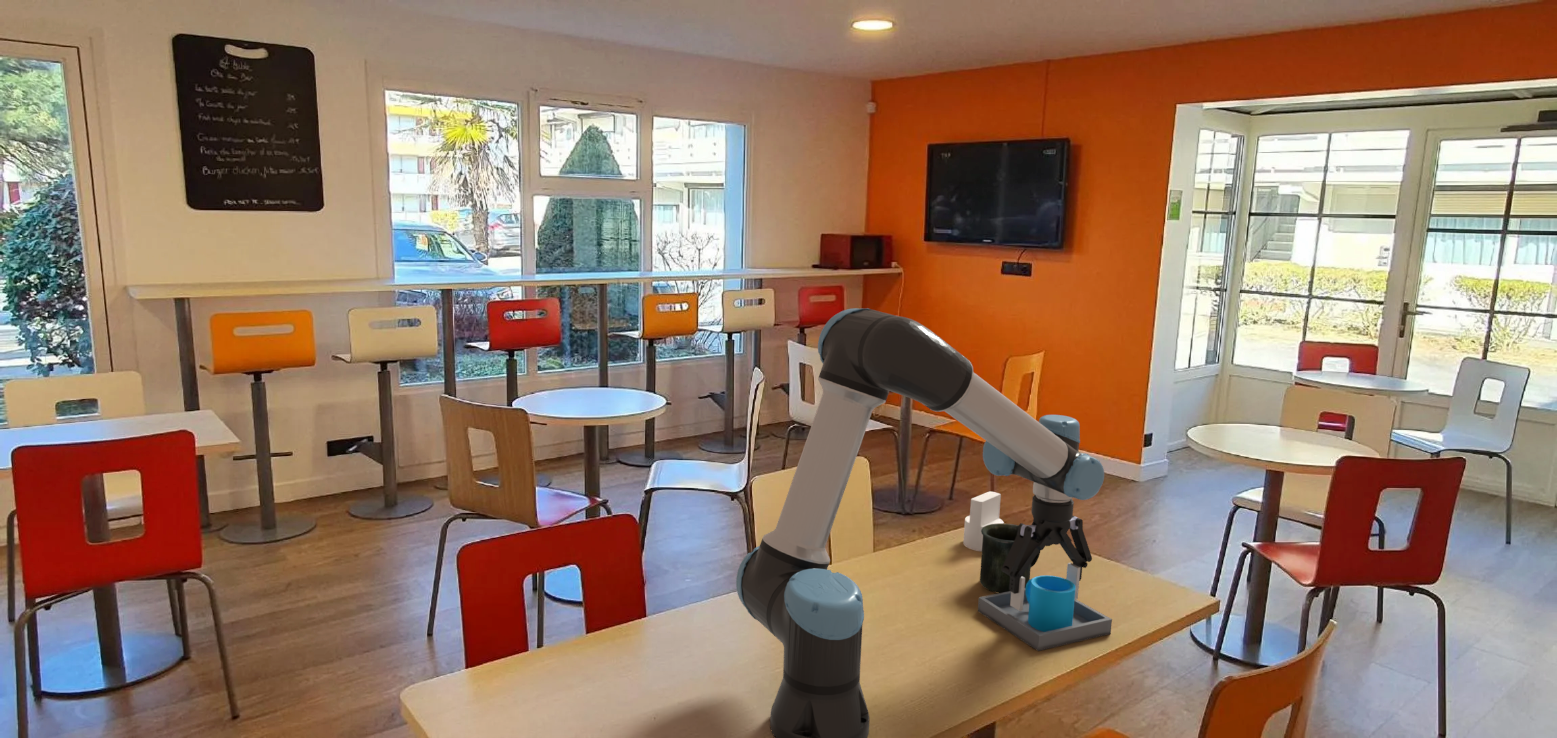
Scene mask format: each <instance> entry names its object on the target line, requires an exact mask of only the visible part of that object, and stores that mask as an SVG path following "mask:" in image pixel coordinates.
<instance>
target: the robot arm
mask: <svg viewBox="0 0 1557 738" xmlns="http://www.w3.org/2000/svg"><path fill="white" fill-rule="evenodd" d="M817 353H818V354H819V359H820V362H821V363H822V366H821V368H820V369H821V370H820V372H819V376H818V378H817V379H818V382H819V384H820V386H821V389H822V395H821V398H820V401H819V404H818V406H817V409H816V413H815V415H814V417H813V421H812V423H811V426H810V428H809V432H808V435H807V438H806V441H805V443H804V445H803V448H802V452H801V455H800V457H799V460H798V463H797V467H796V468H795V472H794V474H793V477H792V480H791V484H790V487H789V489H788V492H787V495H786V498H785V501H784V504H783V506H782V509H781V512H780V516H779V518H778V520H777V523H776V527H775V529H773V530H772V531H770V532H767V533H766V534H764V535H762V538H761V541H760V544H759V545H758V546H756V547H755V548H753V550H752V551H751V552H748V553H747V554H746V555H745V557H744V558H743V559H742V560H741V562H740V564H739V566H738V569H737V572H736V573H737V574H736V577H735V579H736V581H735V585H736V586H735V587H736V593H737V596H738V598H739V600H740V602H741V604H742V605H743V607H744V608H745V609H746V610H747V613H748V614H749V615H750V616H751V617H752V618H753V619H755V620H756V621H757V622H759V623H760V624H761V625H762V626H763V627H764V628H765V629H766V630H767V631H768V632H769V633H771V634H772V636H774V637H775V638H776V639H777V640H778V641H779V642H780V643H781V644H782V645H783V665H782V666H783V673H782V679H781V683H780V685H779V688H778V689H777V690H778V691H777V693H776V696H775V699H774V701H773V703H772V706H771V709H770V720H769V721H770V724H769V725H770V726H771V728H770V731H771V730H772V731H771V734H772V735H773V734H774V735H773V737H774V736H776V738H868V737H869V735H870V733H869V732H870V714H869V713H870V712H869V710H868V709H869V708H868V705H867V701H866V699H865V696H864V693H863V689H862V686H861V681H860V680H861V663H862V661H861V659H862V642H863V641H862V640H863V639H862V638H863V623H864V619H865V611H864V599H863V593H862V591H861V590H860V587H859V586H858V584H857V583H856V582H855V581H854V580H852V579H851V578H850V577H848V576H847V575H845V574H843V573H842V572H841V573H840V572H838V571H836V572H832V570H831V569H828V567H829V565H830V562H831V559H830V556H829V553H828V552H827V550H826V545H827V542H828V540H829V537H830V533H831V531H832V528H833V525H834V522H835V519H836V516H837V514H838V511H839V508H840V505H841V503H842V499H843V496H844V494H845V491H846V488H847V485H848V483H849V479H850V477H851V474H852V471H853V468H854V464H855V463H856V459H857V456H858V454H859V450H860V448H861V445H862V443H863V439H864V436H865V434H866V430H867V428H868V425H869V422H870V419H871V416H872V413H873V411H874V410H875V408H877V407H879V406H881V405H883V404H885V403H886V402H887V400H888V396H889V394H890V392H891V393H895V394H898V395H901V396H904V397H905V398H906V397H907V398H908V399H911V400H913V401H916V402H918V403H920V404H922V405H923V406H924V407H926V408H927V409H928V410H930V411H933V412H935V413H938V412H939V413H940V412H945V413H946V414H948V415H949V416H951V417H952V418H953V419H955V420H956V421H958V423H960V424H962V425H963V426H964V427H966V428H967V429H969V430H970V431H971V432H973V433H975V434H976V435H978V436H979V437H981V438H982V440H984V441H985V442H984V443H983V447H982V460H983V464H984V465H985V467H986V469H987V471H989V473H991V474H992V475H994V476H998V477H999V476H1001V477H1002V476H1004V477H1009V476H1011V475H1013V476H1014V475H1015V476H1018V477H1021V478H1023V479H1026V480H1027V481H1028V480H1029V481H1031V482H1033V486H1032V493H1033V494H1034V495H1033V496H1032V499H1031V509H1030V510H1031V511H1030V512H1031V516H1032V517H1033V520H1032V523H1031V524H1024V523H1023V522H1022V523H1019V524H1018V525H1019V527H1018V532H1017V536H1016V538H1015V540H1014V543H1013V545H1012V547H1011V549H1010V551H1009V553H1008V555H1007V558H1006V560H1005V562H1004V564H1003V566H1002V569H1001V570H1002V572H1004V573H1006V574H1007V575H1009V576H1010V584H1009V590H1010V591H1011V601H1010V606H1012V607H1014V608H1015V609H1017V610H1019V611H1022V610H1023V600H1024V587H1025V578H1024V577H1023V576H1022V575H1023V574H1024V572H1025V571H1026V570H1027V568H1028V567H1029V565H1030V564H1031V562H1032V561H1033V560H1034V558H1035V557H1036V555H1037V554H1038V552H1039V551H1040V550H1041V551H1043V550H1044V548H1046V547H1051V546H1052V545H1055V546H1057V545H1060V547H1061V548H1062V549H1063V551H1064V552H1065V554H1066V555H1067V557H1068V558H1069V559H1070V561H1071V562H1067V566H1066V568H1067V569H1066V577H1065V579H1067V580H1069V581H1071V582H1072V583H1074V584H1075V586H1076V589H1075V599H1076V600H1078V599H1079V598H1078V597H1079V588H1080V581H1081V580H1082V578H1083V577H1082V576H1083V575H1082V573H1083V569H1086V568H1087V567H1088V563H1091V561H1092V560H1093V558H1092V554H1091V550H1090V547H1089V545H1088V541H1087V539H1086V536H1085V532H1084V530H1083V529H1084V527H1083V525H1084V524H1083V523H1084V522H1083V519H1082V518H1080V517H1077V516H1075V515H1073V513H1074V506H1075V505H1074V504H1075V503H1074V500H1073V498H1074V499H1077V500H1080V501H1087V500H1089V499H1092V498H1094V497H1095V496H1096V495H1097V494H1098V493H1099V491H1100V490H1101V487H1102V486H1103V483H1104V480H1105V470H1104V469H1105V468H1104V466H1103V464H1102V462H1101V461H1100V460H1098V459H1097V458H1095V457H1093V456H1091V455H1089V453H1083V452H1080V451H1079V449H1080V444H1081V437H1080V435H1081V433H1080V432H1081V431H1080V430H1081V429H1080V427H1081V426H1080V422H1079V420H1077V419H1076V418H1074V417H1072V416H1067V415H1062V414H1061V415H1060V414H1045V415H1042V416H1041V417H1040V418H1039V420H1037V419H1035V418H1034V417H1033V416H1032V415H1030V414H1029V413H1028V412H1026V411H1025V410H1024V409H1022V408H1021V407H1020V406H1018V405H1017V404H1016V403H1014V402H1013V401H1012V400H1011V399H1010V398H1008V397H1007V396H1005V395H1004V394H1002V393H1001V392H1000V391H999V390H997V389H996V388H995V387H993V386H992V385H991V384H989V382H987V381H986V380H984V379H983V378H982V377H980V375H978V374H977V373H975V372H974V366H973V363H972V362H971V361H970V360H969V359H968V358H967V357H965V356H964V355H963V354H962V353H961V352H959V351H958V350H957V349H956V348H954V347H952V346H951V345H950V344H949V343H947V342H946V341H945V340H944V339H943V338H941V337H940V336H939V335H937V334H936V333H935V332H933V331H932V330H931V329H929V328H928V327H926V326H925V325H923V324H921V323H920V322H919V321H917V320H914V319H912V318H908V317H905V316H899V315H894V314H891V313H887V312H882V311H879V310H875V309H871V308H868V307H867V308H862V307H861V308H858V307H857V308H855V307H854V308H848V309H843V310H842V311H840V312H838V313H836V314H835V315H833V316H832V317H831V318H830V319H829V320H828V321H827V322H826V323H825V325H824V326H823V328H822V330H821V331H820V334H819V336H818V342H817ZM1068 531H1069V533H1070V535H1069V534H1068ZM1070 536H1071V538H1072V539H1071V538H1070ZM1035 540H1037V541H1038V542H1039V543H1037V542H1035ZM1072 541H1073V543H1072ZM1041 551H1040V552H1041ZM1017 569H1018V571H1017ZM770 726H769V727H770Z"/></svg>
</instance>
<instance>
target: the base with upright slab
mask: <svg viewBox="0 0 1557 738" xmlns="http://www.w3.org/2000/svg"><path fill="white" fill-rule="evenodd" d="M1001 495H1002V494H1001V493H999V492H995V491H987V492H984V493H982V494H979V495H977V496H975V497H972V498H971V499H970V510H969V515H967V516H966V517H965V518H964V527H963V529H964V530H963V531H964V532H963V541H962V542H963V546H965V547H966V548H967V549H970V550H973V551H976V552H981V553H982V542H983V534H982V533H981V530H982V528H983V527H985V526H987V525H990V524H998V523H1004V524H1005V522H1004V521H1003V519H1001V518H1000V511H1001V510H1000V509H1001V498H1002V496H1001Z"/></svg>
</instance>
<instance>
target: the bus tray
mask: <svg viewBox="0 0 1557 738" xmlns="http://www.w3.org/2000/svg"><path fill="white" fill-rule="evenodd" d="M1010 601H1011V591H1008V592H1003V593H995V594H988V595H983V596H980V597H978V601H977V602H978V604H977V612H978V613H979V614H981V615H983V616H984V617H985V618H988V619H989V620H990V621H992V622H993V623H994V624H996V625H998V626H999V627H1001V628H1002V629H1004V630H1006V632H1008V633H1010V634H1011V635H1013V636H1014V637H1016V638H1017V639H1019V640H1020V641H1022V642H1024V643H1025V644H1026V645H1027V646H1030V647H1031V648H1032V649H1035V650H1036V651H1037V652H1040V651H1045V650H1049V649H1052V648H1053V649H1054V648H1058V647H1061V646H1064V645H1065V646H1066V645H1069V644H1074V643H1078V642H1083V641H1086V640H1091V639H1096V638H1099V637H1104V636H1108V635H1111V634H1112V622H1113V619H1112V618H1111V617H1109V616H1108V615H1105V614H1103V613H1101V612H1100V611H1098V610H1096V609H1094V608H1092V607H1091V606H1089V605H1087V604H1086V603H1083V602H1082V601H1080V600H1078V599H1075V601H1074V612H1073V623H1072V626H1069V627H1065V628H1060V629H1056V630H1051V631H1047V632H1042V631H1040V630H1037V629H1035V628H1033V627H1032V626H1031V625H1030V624H1029V623H1028V614H1029V603H1028V601H1027V598H1026V592H1025V588H1024V600H1023V610H1022V611H1019V610H1017V609H1015V608H1014V607H1012V606H1010Z"/></svg>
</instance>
